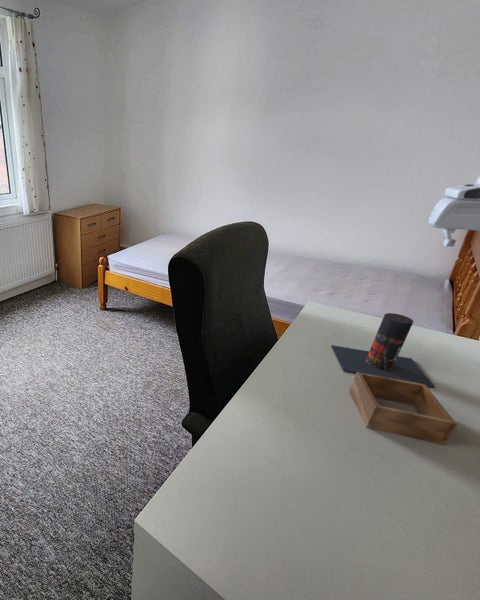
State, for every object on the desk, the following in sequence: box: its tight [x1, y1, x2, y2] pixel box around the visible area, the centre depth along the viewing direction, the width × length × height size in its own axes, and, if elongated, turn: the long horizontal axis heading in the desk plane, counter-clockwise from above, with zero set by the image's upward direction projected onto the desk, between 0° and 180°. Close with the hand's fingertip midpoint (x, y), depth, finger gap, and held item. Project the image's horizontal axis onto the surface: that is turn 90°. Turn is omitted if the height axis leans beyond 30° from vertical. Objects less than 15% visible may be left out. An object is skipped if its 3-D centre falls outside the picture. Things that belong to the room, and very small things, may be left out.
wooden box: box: [349, 372, 458, 446], centre depth 79 cm, size 14×14×6 cm
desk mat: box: [330, 344, 436, 389], centre depth 98 cm, size 20×14×1 cm
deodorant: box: [366, 312, 414, 370], centre depth 94 cm, size 6×6×15 cm
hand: (471, 247), depth 86 cm, fingers open, 8 cm apart
